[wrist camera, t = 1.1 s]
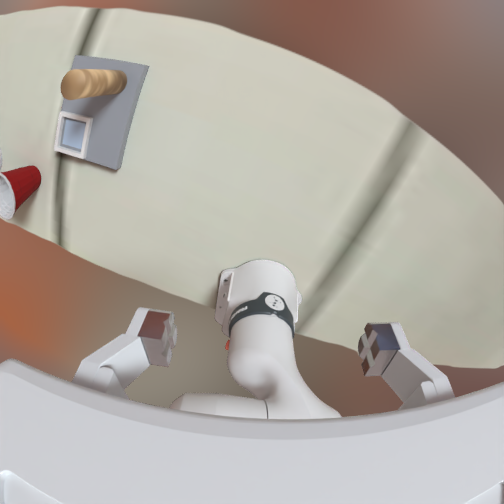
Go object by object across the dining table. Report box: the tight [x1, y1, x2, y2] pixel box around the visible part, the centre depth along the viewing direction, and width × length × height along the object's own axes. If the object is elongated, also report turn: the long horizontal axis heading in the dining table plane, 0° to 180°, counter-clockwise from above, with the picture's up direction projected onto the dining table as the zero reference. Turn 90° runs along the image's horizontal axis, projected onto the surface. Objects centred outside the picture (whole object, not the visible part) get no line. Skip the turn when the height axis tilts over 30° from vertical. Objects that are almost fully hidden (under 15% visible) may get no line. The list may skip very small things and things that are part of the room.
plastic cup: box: [0, 166, 41, 220], centre depth 43 cm, size 11×11×12 cm
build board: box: [54, 55, 149, 170], centre depth 40 cm, size 20×16×3 cm
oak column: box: [61, 69, 127, 100], centre depth 32 cm, size 4×4×13 cm
